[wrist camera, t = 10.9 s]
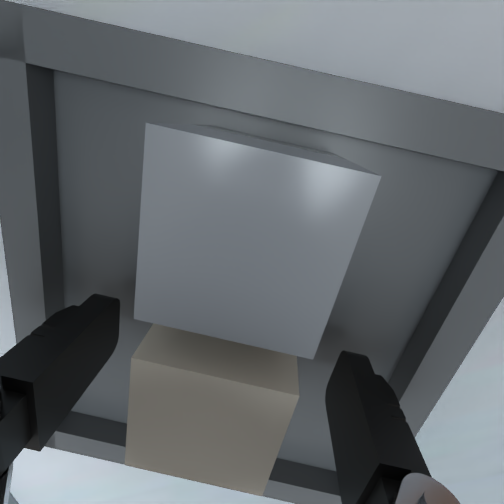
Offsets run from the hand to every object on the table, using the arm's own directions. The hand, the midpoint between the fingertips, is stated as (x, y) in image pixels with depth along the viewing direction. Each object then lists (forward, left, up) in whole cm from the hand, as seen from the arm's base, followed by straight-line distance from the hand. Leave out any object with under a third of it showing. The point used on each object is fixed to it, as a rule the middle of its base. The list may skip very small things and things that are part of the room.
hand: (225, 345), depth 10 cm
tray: (0, 0, -2) cm, 2 cm away
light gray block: (-5, 0, -1) cm, 5 cm away
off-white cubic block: (0, 0, -1) cm, 1 cm away
